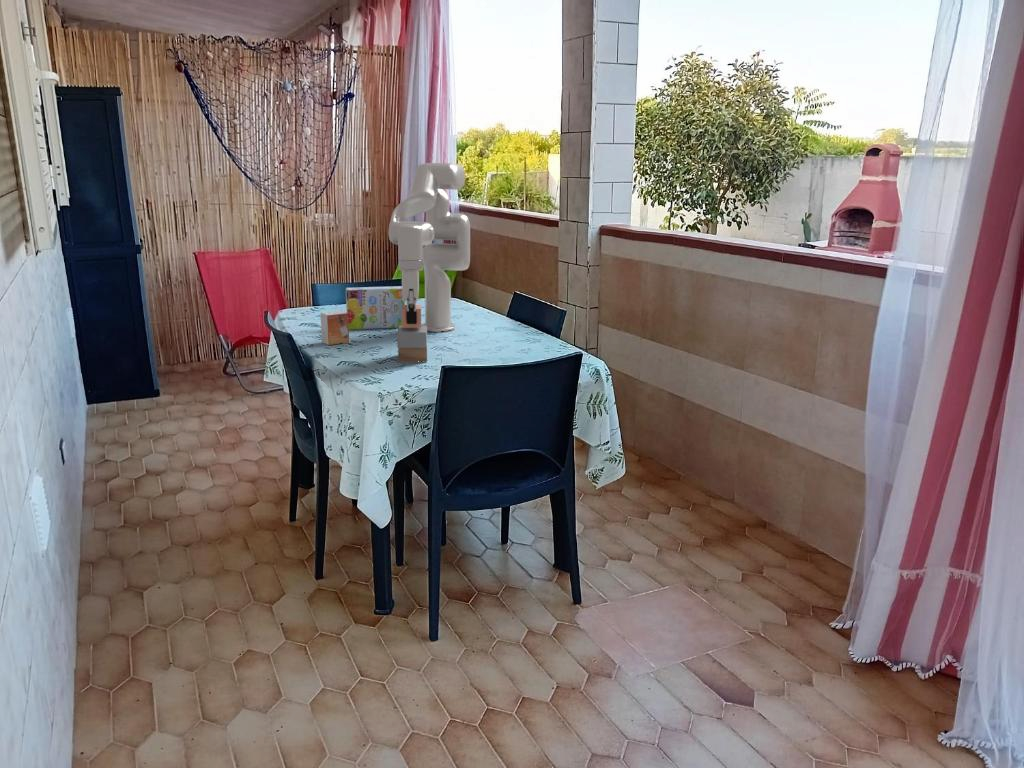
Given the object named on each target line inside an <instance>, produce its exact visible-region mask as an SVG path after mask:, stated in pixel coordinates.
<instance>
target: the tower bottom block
mask: <svg viewBox="0 0 1024 768" xmlns="http://www.w3.org/2000/svg"><path fill="white" fill-rule="evenodd" d="M397 355H398V356H397V357H398V363H424V362H423V361H427V362H428V345H427V346H426V348H397ZM418 361H419V362H418Z"/></svg>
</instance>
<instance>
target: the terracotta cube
mask: <svg viewBox="0 0 1024 768" xmlns="http://www.w3.org/2000/svg"><path fill="white" fill-rule="evenodd" d="M406 311H407V304H405V305H402V328H421V325H422V305H421V304H416V311H417V324H407V320H406Z"/></svg>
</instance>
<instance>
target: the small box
mask: <svg viewBox="0 0 1024 768" xmlns="http://www.w3.org/2000/svg"><path fill="white" fill-rule="evenodd" d="M320 329H321V332H320V333H321V343H323V344H325V345H327V346H331V345H339V344H340V343H342V344H349V343H350V329H349V320H348V313H347V311H344V310H337V311H336V310H334V311H327V312H320ZM348 342H349V343H348Z"/></svg>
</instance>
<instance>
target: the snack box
mask: <svg viewBox="0 0 1024 768" xmlns="http://www.w3.org/2000/svg"><path fill="white" fill-rule="evenodd" d="M405 302H406V301H404V302H403V301H402V285H401V286H400V285H399V286H397V285H396V286H395V285H394V286H368V287H367V286H365V287H364V286H363V287H362V286H361V287H359V286H357V287H345V304H346V305H345V307H346V312H347V313H348V320H349V330H370V329H372V330H373V329H398V328H399V326H402V305H406V303H405Z"/></svg>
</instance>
